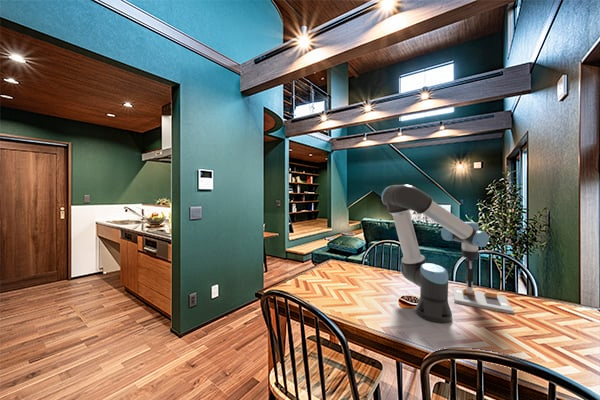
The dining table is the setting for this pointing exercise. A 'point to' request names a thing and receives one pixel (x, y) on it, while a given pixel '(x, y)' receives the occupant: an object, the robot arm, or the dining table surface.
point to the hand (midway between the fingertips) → (469, 292)
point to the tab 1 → (467, 292)
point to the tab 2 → (490, 294)
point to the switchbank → (483, 301)
